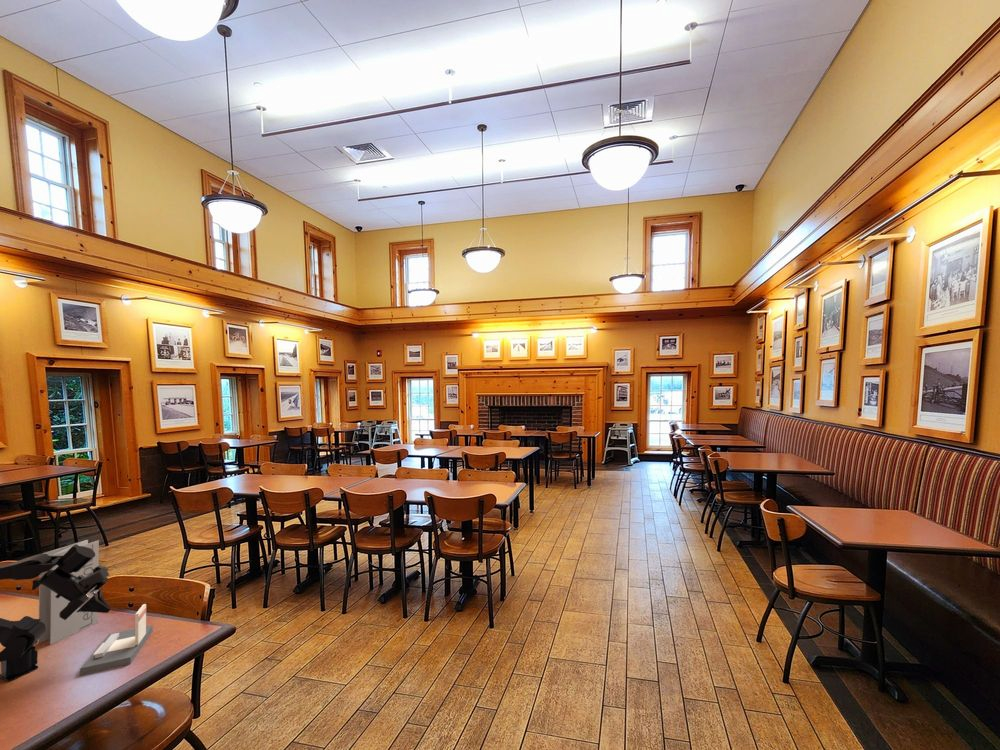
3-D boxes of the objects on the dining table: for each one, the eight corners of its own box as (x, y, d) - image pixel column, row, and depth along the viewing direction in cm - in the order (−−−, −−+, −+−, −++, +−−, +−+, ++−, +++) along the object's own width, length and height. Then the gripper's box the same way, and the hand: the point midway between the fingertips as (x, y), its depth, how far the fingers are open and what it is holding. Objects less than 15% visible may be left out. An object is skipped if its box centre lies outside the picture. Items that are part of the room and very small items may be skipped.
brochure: (50, 644, 143) (51, 555, 144) (38, 643, 144) (39, 554, 145) (98, 622, 157) (98, 540, 158) (86, 620, 158) (87, 539, 159)
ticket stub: (135, 645, 137) (135, 614, 138) (142, 634, 144) (143, 604, 144) (138, 644, 138) (138, 613, 138) (146, 633, 144) (146, 603, 144)
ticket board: (80, 675, 127) (80, 663, 127) (109, 639, 145) (109, 629, 145) (130, 663, 132) (130, 652, 132) (152, 630, 150) (152, 621, 150)
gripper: (73, 573, 128) (120, 602, 132) (101, 552, 145) (141, 578, 149) (37, 605, 124) (86, 634, 128) (70, 580, 141) (112, 606, 145)
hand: (109, 611), depth 138 cm, fingers closed
